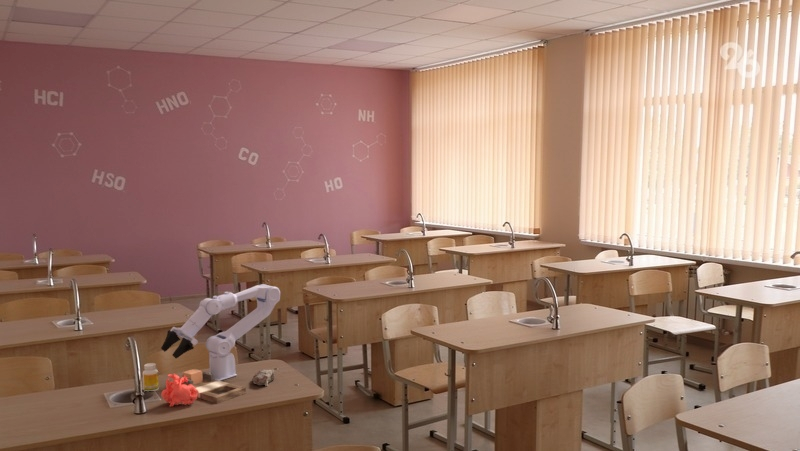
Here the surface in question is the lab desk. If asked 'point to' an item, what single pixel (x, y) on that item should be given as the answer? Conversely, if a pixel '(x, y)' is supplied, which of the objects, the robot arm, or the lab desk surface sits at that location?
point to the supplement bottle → (150, 377)
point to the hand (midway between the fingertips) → (168, 353)
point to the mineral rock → (263, 377)
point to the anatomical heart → (179, 391)
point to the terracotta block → (194, 375)
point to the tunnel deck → (215, 389)
